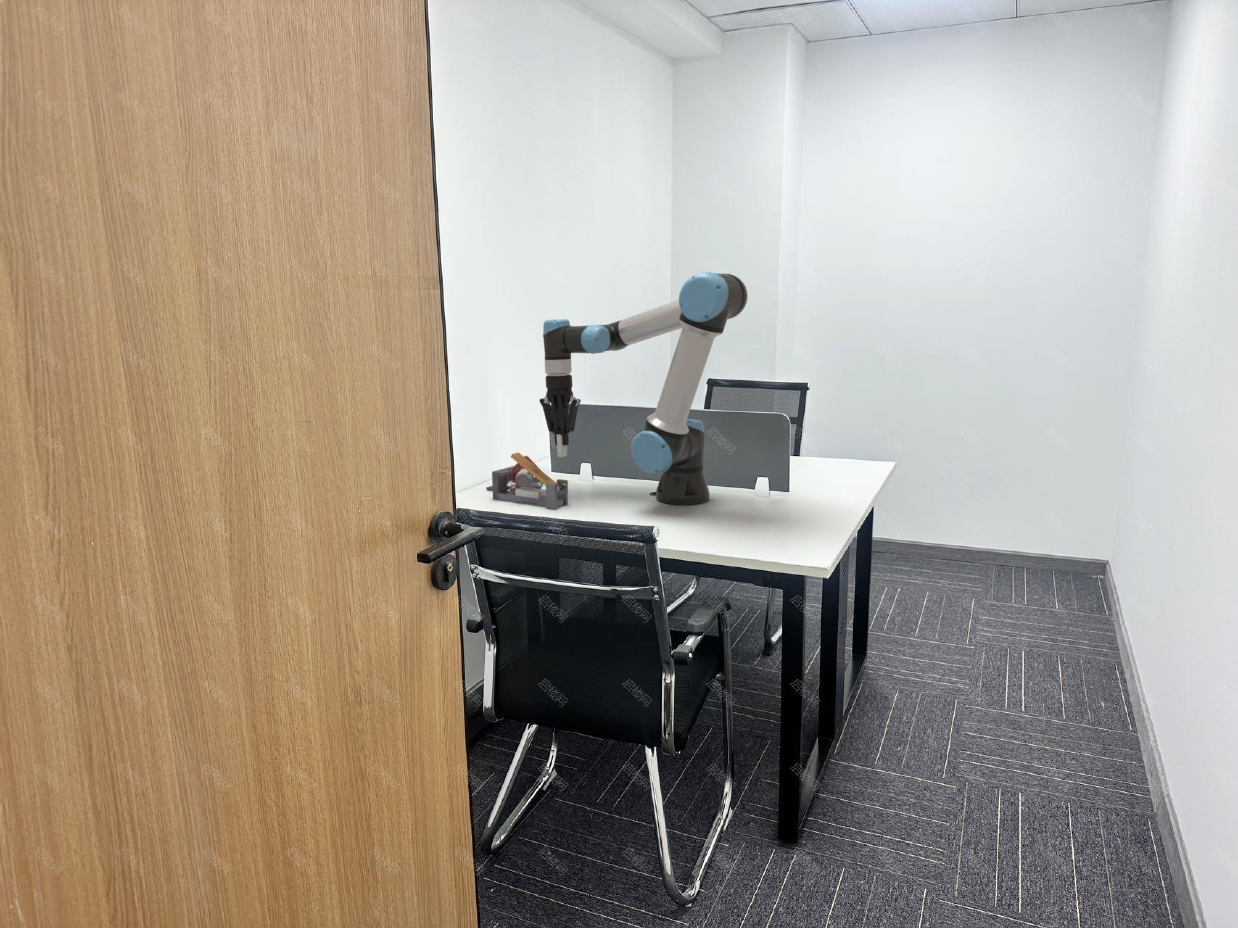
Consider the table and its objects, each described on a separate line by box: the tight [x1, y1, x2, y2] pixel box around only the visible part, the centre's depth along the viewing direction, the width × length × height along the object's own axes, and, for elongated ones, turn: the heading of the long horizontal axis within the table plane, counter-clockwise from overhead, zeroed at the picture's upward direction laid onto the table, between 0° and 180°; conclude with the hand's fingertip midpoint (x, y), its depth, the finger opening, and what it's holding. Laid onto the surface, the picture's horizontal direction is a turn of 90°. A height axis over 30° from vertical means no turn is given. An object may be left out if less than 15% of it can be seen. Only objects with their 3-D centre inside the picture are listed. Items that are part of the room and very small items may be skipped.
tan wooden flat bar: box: [510, 452, 562, 491], centre depth 233 cm, size 17×3×1 cm
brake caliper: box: [507, 455, 544, 491], centre depth 247 cm, size 11×11×12 cm
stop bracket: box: [485, 465, 521, 492], centre depth 255 cm, size 5×12×6 cm, turn 149°
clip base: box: [491, 468, 569, 510], centre depth 236 cm, size 22×6×8 cm, turn 59°
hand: (562, 456), depth 243 cm, fingers closed
